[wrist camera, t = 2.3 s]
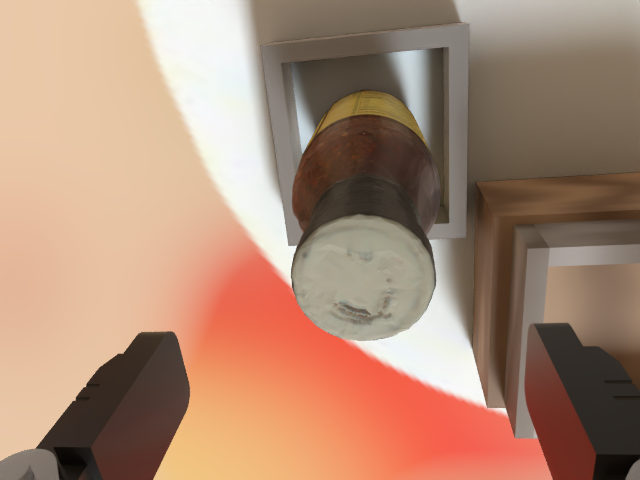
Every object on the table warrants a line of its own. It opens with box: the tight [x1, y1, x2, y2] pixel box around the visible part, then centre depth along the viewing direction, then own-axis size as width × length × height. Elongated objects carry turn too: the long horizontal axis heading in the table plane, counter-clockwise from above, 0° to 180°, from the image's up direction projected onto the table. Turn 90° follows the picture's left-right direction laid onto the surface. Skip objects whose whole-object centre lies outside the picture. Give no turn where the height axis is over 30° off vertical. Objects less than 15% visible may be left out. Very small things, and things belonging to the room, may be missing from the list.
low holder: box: [261, 22, 469, 246], centre depth 31 cm, size 11×12×3 cm
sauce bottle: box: [291, 90, 441, 341], centre depth 23 cm, size 7×6×20 cm
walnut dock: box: [473, 172, 640, 438], centre depth 30 cm, size 13×13×9 cm
